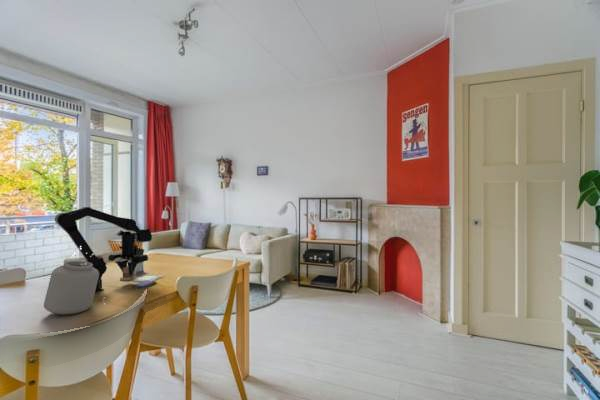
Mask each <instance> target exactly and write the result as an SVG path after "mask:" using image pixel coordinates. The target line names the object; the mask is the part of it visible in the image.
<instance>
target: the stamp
mask: <svg viewBox="0 0 600 400" xmlns="http://www.w3.org/2000/svg"><path fill="white" fill-rule="evenodd" d="M136 278H137V275H134V272H133V275H130V273H129V268H128V265H127V266H126V267H123V272H122V277H119V282H123V283H124V282H125V283H126V282H127V283H129V282H133V281H132V280H135V279H136Z"/></svg>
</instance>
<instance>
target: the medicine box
mask: <svg viewBox="0 0 600 400" xmlns="http://www.w3.org/2000/svg"><path fill="white" fill-rule="evenodd" d="M128 262H131V260H129V261H128ZM142 272H143V273H144V262H140V263H138V264H137V265H136V267H135V270H134V276H137V275H138V274H141V273H142Z"/></svg>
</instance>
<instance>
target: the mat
mask: <svg viewBox="0 0 600 400" xmlns="http://www.w3.org/2000/svg"><path fill="white" fill-rule="evenodd" d="M164 277H165V276H164V275H159V274H158V275H157V274H143V275H142V276H139V277H136V279H135V280H132V281H131V282H137V283H139V282H142V281H145V280H146V281H156V280H158V279H162V278H164Z"/></svg>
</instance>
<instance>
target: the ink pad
mask: <svg viewBox="0 0 600 400" xmlns="http://www.w3.org/2000/svg"><path fill="white" fill-rule="evenodd" d="M157 282H158V281H156V280H154V281H146V280H145V281H142V282H137V283H134V284H132V285H130V288H131V289H137V290H138V289H140V290H144V289H147V288H149V287H152V286H154V285H157Z"/></svg>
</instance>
